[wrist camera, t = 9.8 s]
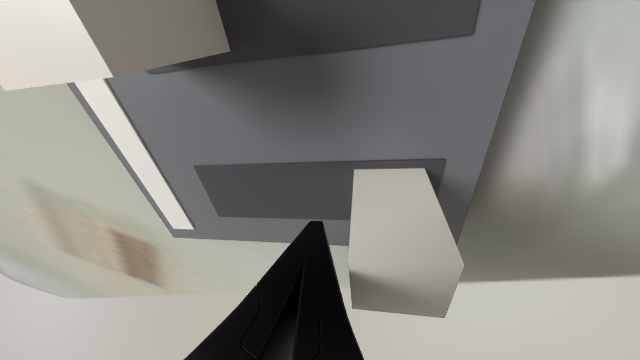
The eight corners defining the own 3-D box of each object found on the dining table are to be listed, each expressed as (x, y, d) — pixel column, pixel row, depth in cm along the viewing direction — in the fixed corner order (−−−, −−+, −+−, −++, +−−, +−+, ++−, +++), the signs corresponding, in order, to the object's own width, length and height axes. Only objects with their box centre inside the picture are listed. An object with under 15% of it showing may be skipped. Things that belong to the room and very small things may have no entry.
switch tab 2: (424, 168, 10) (464, 265, 6) (417, 216, 11) (444, 318, 7) (354, 169, 10) (348, 258, 6) (355, 214, 12) (352, 308, 8)
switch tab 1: (199, -56, 7) (-25, -161, 3) (230, 50, 8) (113, 77, 4) (118, -36, 7) (-157, -100, 3) (161, 60, 9) (5, 90, 5)
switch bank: (574, -282, 5) (679, -432, 3) (444, 224, 14) (455, 252, 12) (10, -89, 9) (-76, -115, 7) (191, 217, 18) (172, 238, 16)
